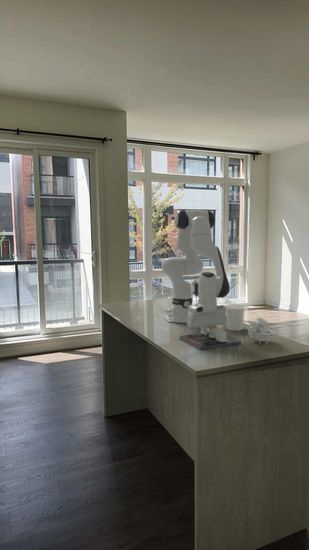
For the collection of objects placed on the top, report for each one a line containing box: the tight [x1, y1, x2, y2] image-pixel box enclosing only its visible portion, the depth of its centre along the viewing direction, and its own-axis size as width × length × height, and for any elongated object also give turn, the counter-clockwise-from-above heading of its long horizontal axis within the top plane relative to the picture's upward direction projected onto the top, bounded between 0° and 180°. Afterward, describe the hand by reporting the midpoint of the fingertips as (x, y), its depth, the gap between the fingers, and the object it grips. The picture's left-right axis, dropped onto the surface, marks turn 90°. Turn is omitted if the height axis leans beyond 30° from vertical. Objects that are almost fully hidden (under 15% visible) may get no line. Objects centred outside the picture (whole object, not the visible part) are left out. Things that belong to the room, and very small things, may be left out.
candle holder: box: [225, 305, 245, 332], centre depth 194 cm, size 10×10×12 cm
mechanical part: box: [247, 316, 276, 345], centre depth 168 cm, size 11×12×12 cm
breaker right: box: [216, 328, 227, 342], centre depth 164 cm, size 4×3×5 cm
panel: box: [179, 332, 242, 351], centre depth 170 cm, size 20×22×2 cm
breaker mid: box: [209, 326, 219, 338], centre depth 171 cm, size 4×3×5 cm
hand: (207, 335), depth 169 cm, fingers closed
